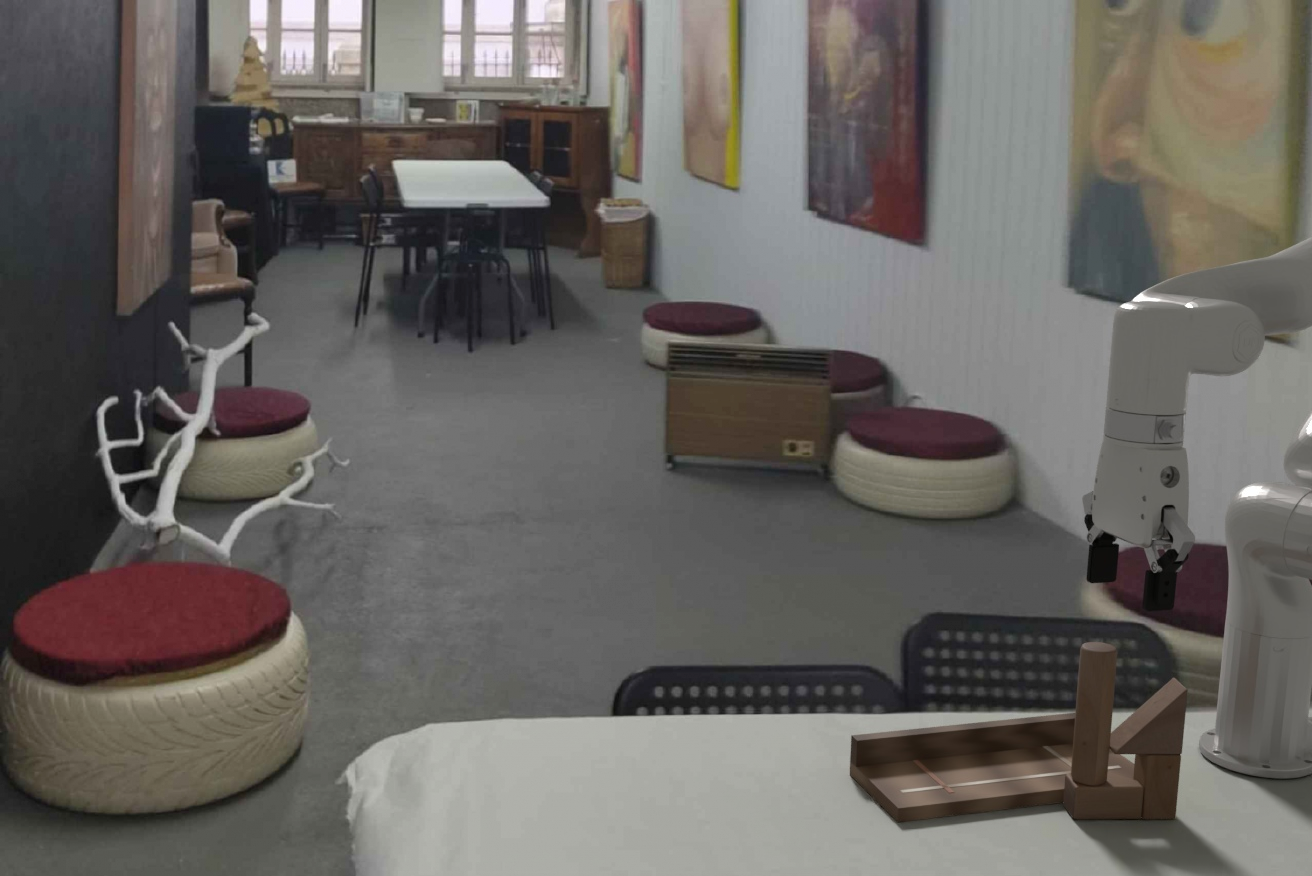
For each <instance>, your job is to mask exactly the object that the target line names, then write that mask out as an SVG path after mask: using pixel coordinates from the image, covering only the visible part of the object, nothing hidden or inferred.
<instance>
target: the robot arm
mask: <svg viewBox="0 0 1312 876" xmlns="http://www.w3.org/2000/svg"><path fill="white" fill-rule="evenodd" d="M1311 327H1312V236H1311V237H1309V238H1306V239H1305V240H1302V241H1300V242H1298V243H1297V244H1294V245H1292V246H1290V247H1287V248H1285V249H1283V250H1281V251H1278V252H1277V253H1274V254H1272V255H1270V256H1265V257H1261V258H1254V259H1249V260H1244V261H1239V262H1235V263H1231V264H1226V265H1222V266H1216V267H1211V268H1206V269H1199V270H1196V271H1192V272H1187V273H1183V274H1180V275H1177V276H1174V277H1172V278H1168V279H1166V280H1164V281H1161V282H1159V283H1157V284H1155V285H1153V286H1151V287H1149V288H1147V289H1145V290H1143V291H1141V292H1140V293H1138V294H1137V295H1136V296H1135V297H1134V298H1132V299H1131V301H1127V302H1125V303H1122V304H1120V305H1119V306H1118V307H1117V309H1116V311H1115V313H1114V315H1113V323H1112V333H1111V334H1112V335H1111V346H1110V357H1109V367H1108V368H1109V369H1108V381H1107V390H1106V401H1105V402H1106V404H1105V405H1106V406H1105V413H1104V414H1105V415H1104V426H1103V438H1102V443H1101V445H1100V446H1101V447H1100V451H1099V455H1098V459H1097V460H1098V461H1097V465H1096V472H1095V477H1094V478H1095V479H1094V485H1093V491H1089V492H1088V493H1086V494H1083V496H1082V505H1083V510H1084V515H1085V516H1084V524H1085V527H1086V529H1087V533H1086V542H1087V543H1088V544H1089V545H1088V546H1089V547H1088V555H1087V556H1088V557H1087V569H1086V579H1085V580H1086V581H1087V582H1088V583H1090V584H1104V583H1114V582H1116V580H1117V576H1118V574H1117V573H1118V565H1119V564H1118V563H1119V554H1120V551H1119V550H1120V544H1118V543H1117V542H1116V541H1117V539H1119V540H1121V541H1124V542H1125V543H1128V544H1131V545H1133V546H1136V547H1139V548H1143V550H1144V553H1145V555H1146V559H1147V562H1148V565H1149V567H1150V569H1148V570H1147V569H1146V570H1145V576H1144V585H1143V596H1142V603H1141V604H1142V609H1143V610H1144V611H1146V612H1159V611H1161V612H1162V611H1171V610H1173V609H1174V606H1175V601H1176V600H1175V598H1176V588H1177V578H1178V572H1181V571H1182V569H1183V564H1185V563H1186V562H1187V561H1188V560H1189V553H1190V552H1191V550H1192V547H1193V546H1194V544H1195V541H1196V535H1195V534H1194V532H1193V531H1192V530H1191V528H1190V527H1189V526H1188V522H1189V505H1190V502H1189V500H1190V499H1189V498H1190V496H1189V494H1190V485H1189V484H1190V480H1189V479H1190V478H1189V477H1190V475H1189V462H1188V455H1187V448H1185V447H1184V438H1185V437H1184V436H1185V428H1186V427H1185V426H1186V417H1187V408H1188V407H1187V406H1188V397H1189V389H1190V388H1189V386H1190V378H1191V375H1193V374H1194V375H1195V374H1197V375H1207V376H1212V377H1213V376H1214V377H1231V376H1234V375H1238V374H1240V373H1243V372H1245V371H1247V370H1248V369H1249V368H1250V367H1252V366H1253V365H1254V364H1255V362H1256V361H1257V360H1259V357H1260V356H1261V353H1262V352H1263V350H1264V345H1265V341H1266V339H1265V338H1266V336H1275V335H1285V334H1292V333H1293V334H1294V333H1298V332H1301V331H1304V330H1307V329H1308V328H1311ZM1283 457H1284V458H1283V470H1284V473H1285V474H1286V477H1287V478H1288V480H1290V481H1291V483H1292V484H1291V483H1287V482H1278V481H1259V482H1254V483H1251V484H1248V485H1246V486H1244V487H1242V488H1241V489H1240V490H1238V491H1237V492H1236V493H1235V494H1234V495H1233V497H1232V499H1231V500H1230V502H1228V503H1229V504H1228V505H1227V509H1226V513H1225V516H1224V517H1225V518H1224V536H1225V545H1226V553H1227V554H1226V555H1227V562H1228V563H1227V564H1228V567H1227V568H1228V585H1227V586H1228V588H1227V589H1228V590H1227V603H1226V613H1225V621H1224V622H1225V623H1224V634H1223V644H1222V653H1221V654H1222V655H1221V664H1220V676H1219V683H1218V693H1217V694H1218V695H1217V705H1216V715H1215V717H1216V718H1215V723H1214V724H1215V726H1214V728H1212V729H1208V730H1207V731H1205V732H1203V733H1202V734H1201V735H1200V736H1199V740H1198V741H1199V742H1198V749H1199V752H1200V753H1201V754H1202V755H1203V756H1204V757H1205V758H1206V759H1207V760H1209V761H1210V762H1212V763H1214V764H1215V765H1218V766H1219V767H1222V768H1225V769H1226V770H1230V771H1233V772H1236V773H1239V774H1243V775H1248V776H1252V777H1259V778H1265V779H1266V778H1267V779H1277V780H1278V779H1283V780H1285V779H1297V778H1303V777H1305V776H1309V775H1312V716H1309V713H1310V705H1311V697H1312V696H1311V695H1312V584H1311V581H1312V408H1311V409H1310V411H1309V412H1308V414H1307V415H1306V417H1305V419H1304V420H1303V421H1302V422H1301V424H1300V425H1299V427H1298V429H1297V430H1296V431H1295V433H1294V435H1293V437H1292V438H1291V440H1290V442H1289V443H1288V446H1287V447H1286V449H1285V453H1284V456H1283ZM1115 542H1116V543H1115ZM1158 550H1164V553H1163V554H1162V555H1161V556H1160V554H1159V551H1158ZM1310 580H1311V581H1310Z"/></svg>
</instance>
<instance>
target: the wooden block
mask: <svg viewBox="0 0 1312 876" xmlns="http://www.w3.org/2000/svg"><path fill="white" fill-rule="evenodd" d="M1117 661H1118V649H1117V648H1116V647H1115V646H1114V645H1113V644H1109V643H1105V642H1100V641H1090V642H1089V641H1088V642H1085V643H1082V644H1081V646H1080V651H1079V662H1078V663H1079V664H1078V674H1077V675H1078V676H1077V686H1076V688H1077V689H1076V690H1077V691H1076V701H1075V712H1074V713H1075V726H1074V739H1073V752H1072V765H1071V774H1066V776H1065V785H1064V799H1063V802H1062V804H1063V806H1064V808H1065V810H1066V811H1067V812H1068V814H1069V815H1070V816H1071V818H1072V819H1074V820H1139V819H1143V820H1175V819H1176V818H1177V817H1176V816H1177V815H1176V814H1177V805H1178V804H1177V803H1178V795H1179V794H1178V793H1179V785H1180V784H1179V783H1180V782H1179V781H1180V772H1181V763H1182V756H1181V755H1182V753H1183V744H1184V734H1185V733H1184V732H1185V731H1184V730H1185V723H1186V712H1187V699H1188V691H1189V690H1188V689H1187V687H1185V686H1184V685H1183V684H1182V683H1181V682H1180V681H1179V680H1178V679H1177V678H1176V677H1172V678H1171V679H1170V680H1169V681H1168V682H1167V683H1165V684H1164V685H1163V686H1162V687H1161V688H1160V689H1158V690H1157V691H1156V692H1155V693H1154V694H1153V695H1152V696H1151V697H1150V698H1149V699H1147V700H1146V701H1145V702H1144V703H1143V704H1141V706H1140V707H1138V708H1137V709H1136V710H1135V711H1134V712H1133V713H1131V715H1130V716H1128V717H1127V718H1126V719H1125V720H1124V721H1122V722H1121V724H1119V725H1118V726H1117V727H1116V728H1114V729H1113V731H1112V724H1113V723H1112V722H1113V710H1114V696H1115V685H1116V683H1115V682H1116V673H1117ZM1109 749H1111V751H1112V752H1113V753H1114V754H1120V755H1135V756H1134V776H1133V779H1130V778H1127V777H1124V776H1120V775H1117V774H1108V761H1109Z"/></svg>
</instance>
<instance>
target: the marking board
mask: <svg viewBox="0 0 1312 876" xmlns="http://www.w3.org/2000/svg"><path fill="white" fill-rule="evenodd" d="M1075 713H1076V712H1069V713H1059V714H1048V715H1039V716H1038V715H1037V716H1029V717H1020V718H1009V719H999V720H989V721H980V722H972V723H971V722H970V723H961V724H960V723H959V724H949V725H942V726H941V725H940V726H932V727H931V726H930V727H922V728H921V727H919V728H912V729H911V728H910V729H902V730H900V729H899V730H893V731H892V730H891V731H884V732H883V731H882V732H871V733H862V734H852V735H851V736H850V740H851V741H850V758H849V760H850V761H849V776H851V777H852V778H853V779H854V781H856V782H857V783H858V785H860V787H862V788H863V789H864V790H865V791H866V792H867V793H868V794H869V795H870V796H871V797H872V798H873V799H874V800H875V801H876V802H877V803H878V804H879V805H880V806H881V807H882V808H883V810H885V811H886V812H887V814H889V815H890V816H891V817H892V818H893V819H894V820H895V821H896V822H897V823H904V822H910V821H918V820H919V821H920V820H927V819H935V818H942V817H951V816H961V815H968V814H969V815H970V814H977V813H985V812H993V811H994V812H995V811H1002V810H1009V809H1017V808H1026V807H1034V806H1035V807H1036V806H1042V805H1052V804H1061V803H1063V799H1064V785H1065V776H1066V774H1071V765H1072V752H1073V739H1074V726H1075ZM1134 764H1135V762H1132V761H1130V760H1129V759H1127V758H1126V757H1125V756H1124V755H1123V754H1114V753H1113V752H1112V751H1111V749H1109V761H1108V774H1117V775H1120V776H1124V777H1127V778H1130V779H1133V776H1134Z"/></svg>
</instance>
